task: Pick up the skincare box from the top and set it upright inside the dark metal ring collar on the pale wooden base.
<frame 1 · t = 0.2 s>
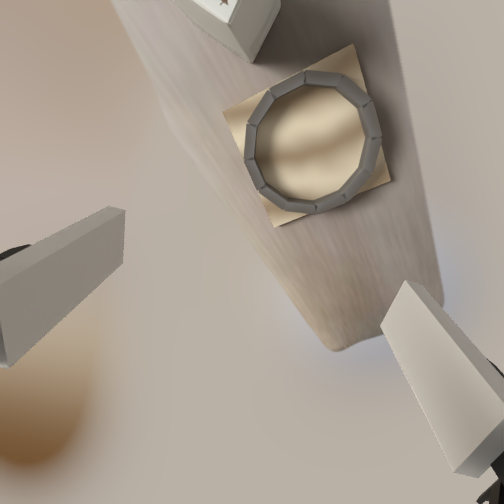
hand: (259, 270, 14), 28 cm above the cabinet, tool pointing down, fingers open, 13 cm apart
skincare box: (234, 17, 32), on the cabinet
collar: (307, 146, 37), on the cabinet
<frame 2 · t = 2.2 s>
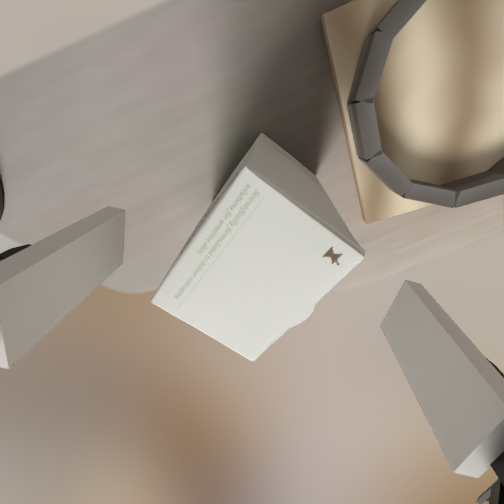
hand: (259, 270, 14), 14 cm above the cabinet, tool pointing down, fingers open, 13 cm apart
skincare box: (263, 193, 27), on the cabinet
collar: (448, 94, 22), on the cabinet
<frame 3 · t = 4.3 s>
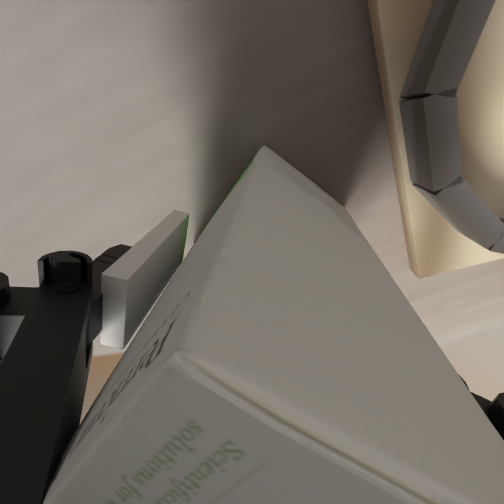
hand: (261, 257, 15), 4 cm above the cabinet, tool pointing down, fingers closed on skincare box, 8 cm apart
skincare box: (266, 231, 18), on the cabinet, touching gripper
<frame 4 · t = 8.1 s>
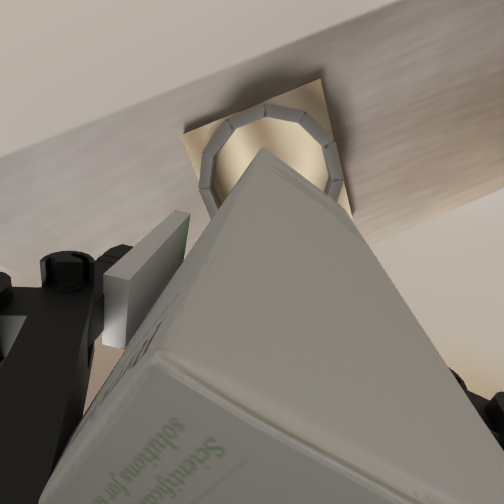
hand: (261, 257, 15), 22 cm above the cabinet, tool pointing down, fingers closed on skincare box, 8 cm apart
skincare box: (266, 232, 19), point 18 cm above the cabinet, touching gripper
collar: (270, 178, 35), on the cabinet
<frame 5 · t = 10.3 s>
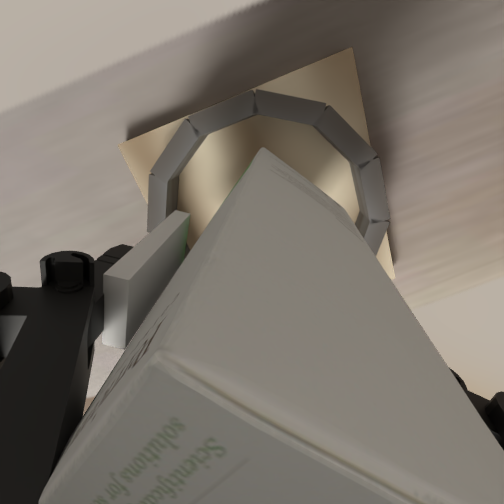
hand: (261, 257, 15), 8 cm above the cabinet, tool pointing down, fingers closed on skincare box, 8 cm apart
skincare box: (266, 232, 19), point 4 cm above the cabinet, touching gripper
collar: (265, 211, 22), on the cabinet
when the fingers open (6 cm above the cabinet, at t = 12.0 s): skincare box drops 1 cm, resting on collar.
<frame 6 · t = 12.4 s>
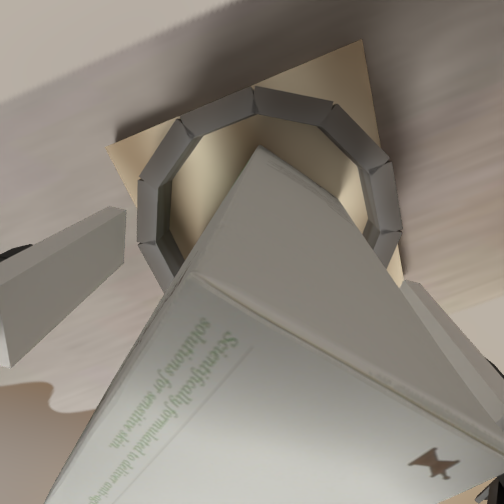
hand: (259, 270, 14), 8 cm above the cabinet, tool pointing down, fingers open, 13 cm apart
skincare box: (266, 224, 20), point 1 cm above the cabinet, touching collar
collar: (265, 218, 21), on the cabinet
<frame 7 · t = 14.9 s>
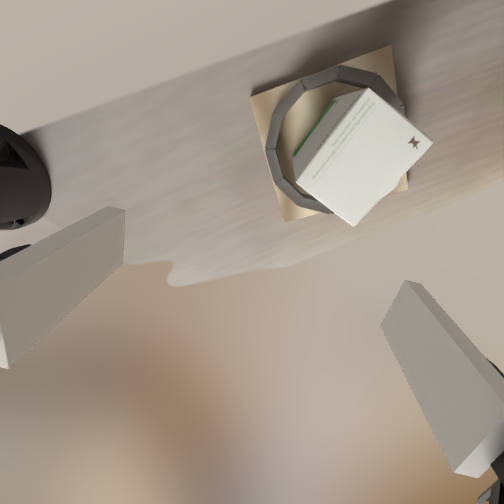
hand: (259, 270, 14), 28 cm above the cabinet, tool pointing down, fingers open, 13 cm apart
skincare box: (331, 145, 35), point 1 cm above the cabinet, touching collar
collar: (329, 144, 36), on the cabinet
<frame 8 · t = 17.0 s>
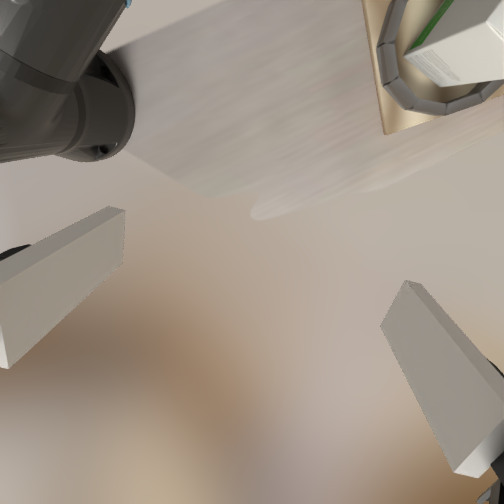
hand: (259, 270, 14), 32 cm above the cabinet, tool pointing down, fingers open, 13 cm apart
skincare box: (446, 41, 34), point 1 cm above the cabinet, touching collar
collar: (441, 42, 35), on the cabinet
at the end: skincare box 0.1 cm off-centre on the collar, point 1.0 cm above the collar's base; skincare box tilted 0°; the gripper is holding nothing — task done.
